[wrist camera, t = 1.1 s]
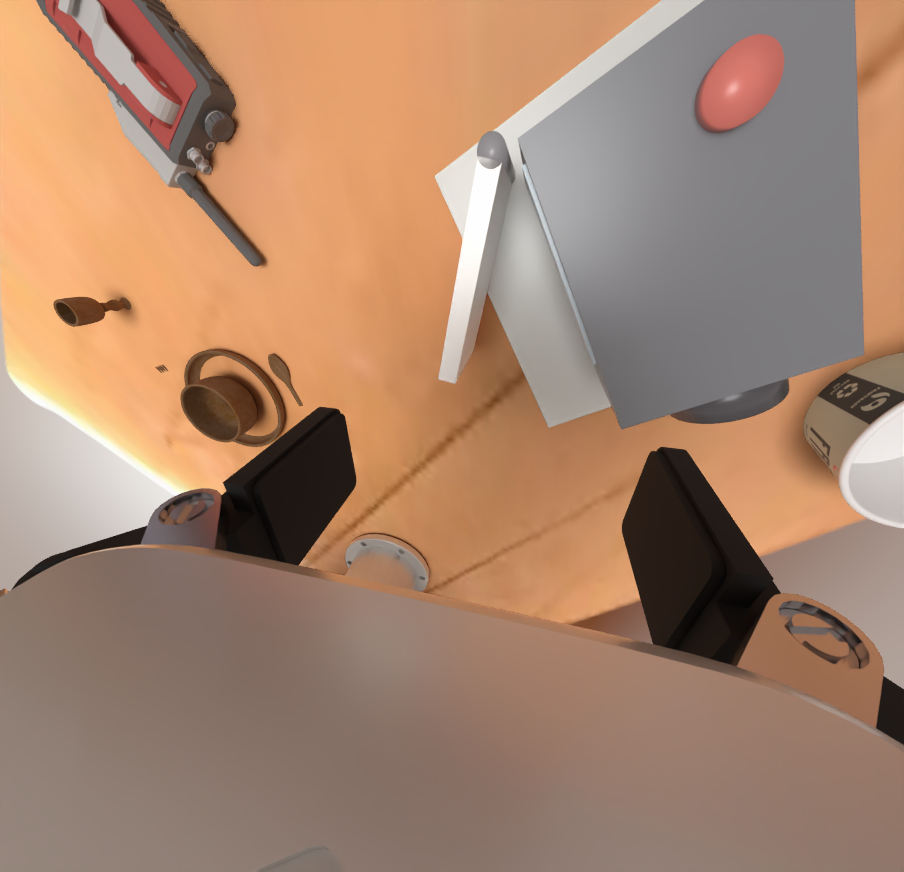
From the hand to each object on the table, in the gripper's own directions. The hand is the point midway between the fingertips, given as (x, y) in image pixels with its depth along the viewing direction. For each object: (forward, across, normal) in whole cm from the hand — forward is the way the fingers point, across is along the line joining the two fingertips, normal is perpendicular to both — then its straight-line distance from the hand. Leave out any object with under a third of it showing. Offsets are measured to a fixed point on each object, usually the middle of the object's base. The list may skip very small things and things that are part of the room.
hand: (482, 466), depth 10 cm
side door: (+20, +3, -4) cm, 20 cm away
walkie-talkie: (+21, +27, -14) cm, 37 cm away
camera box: (+21, -8, -5) cm, 23 cm away
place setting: (+21, +32, +7) cm, 39 cm away
